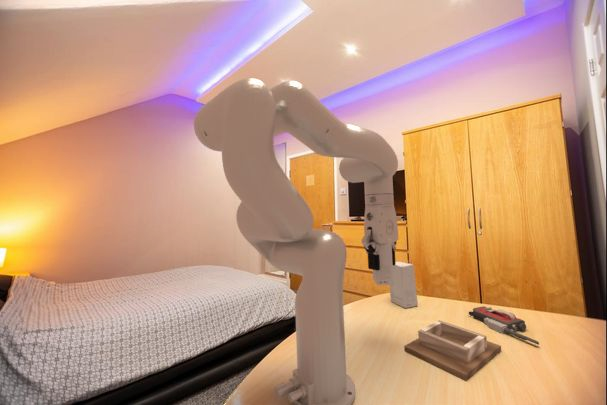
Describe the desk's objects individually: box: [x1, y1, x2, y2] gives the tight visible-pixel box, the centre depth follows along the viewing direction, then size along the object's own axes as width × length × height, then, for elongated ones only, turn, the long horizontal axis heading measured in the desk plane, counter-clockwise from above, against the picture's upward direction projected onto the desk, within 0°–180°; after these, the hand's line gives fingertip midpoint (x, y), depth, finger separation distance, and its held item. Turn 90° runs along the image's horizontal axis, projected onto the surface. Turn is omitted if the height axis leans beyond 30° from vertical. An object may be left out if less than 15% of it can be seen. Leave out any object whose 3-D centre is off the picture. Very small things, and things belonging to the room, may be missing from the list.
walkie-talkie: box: [468, 305, 540, 346], centre depth 72 cm, size 9×4×20 cm
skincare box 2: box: [389, 261, 419, 309], centre depth 94 cm, size 8×6×15 cm
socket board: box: [403, 319, 502, 382], centre depth 62 cm, size 18×14×4 cm
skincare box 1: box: [372, 239, 393, 286], centre depth 69 cm, size 6×4×12 cm
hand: (382, 266), depth 69 cm, fingers closed on skincare box 1, 7 cm apart
